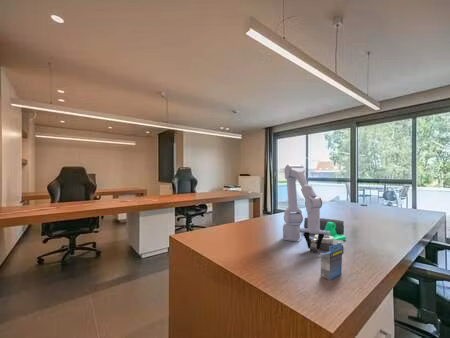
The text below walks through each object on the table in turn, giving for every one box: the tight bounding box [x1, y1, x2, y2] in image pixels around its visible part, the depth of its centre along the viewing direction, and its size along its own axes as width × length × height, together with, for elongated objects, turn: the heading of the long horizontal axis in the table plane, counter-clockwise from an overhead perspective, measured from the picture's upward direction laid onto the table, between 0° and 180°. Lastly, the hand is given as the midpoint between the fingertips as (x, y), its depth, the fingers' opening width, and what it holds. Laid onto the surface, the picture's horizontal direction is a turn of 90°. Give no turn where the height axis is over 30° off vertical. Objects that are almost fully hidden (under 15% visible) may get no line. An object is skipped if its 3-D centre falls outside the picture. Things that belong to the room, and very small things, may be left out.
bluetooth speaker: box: [303, 217, 345, 236], centre depth 143 cm, size 23×9×10 cm, turn 61°
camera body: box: [314, 234, 344, 254], centre depth 117 cm, size 14×9×6 cm, turn 62°
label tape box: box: [320, 243, 343, 281], centre depth 85 cm, size 9×4×12 cm, turn 126°
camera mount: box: [325, 222, 347, 242], centre depth 130 cm, size 12×8×10 cm, turn 121°
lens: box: [309, 237, 319, 254], centre depth 112 cm, size 4×4×6 cm
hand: (313, 248), depth 112 cm, fingers closed on lens, 4 cm apart
